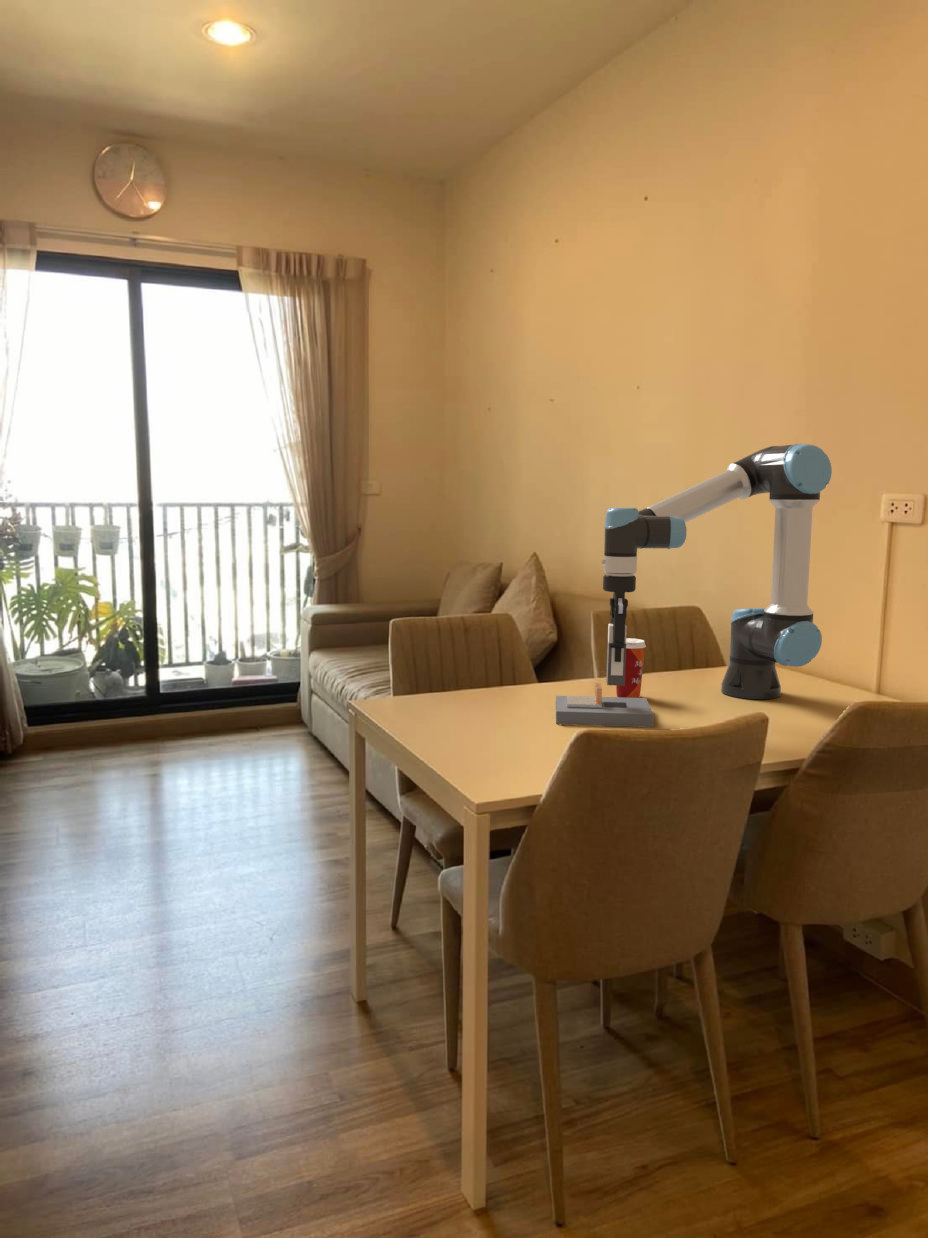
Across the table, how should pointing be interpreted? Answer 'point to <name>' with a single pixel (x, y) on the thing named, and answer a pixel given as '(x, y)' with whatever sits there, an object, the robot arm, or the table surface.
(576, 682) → the table surface
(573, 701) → the light gray plate
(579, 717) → the block
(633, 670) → the coffee cup
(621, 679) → the grey white tall block
